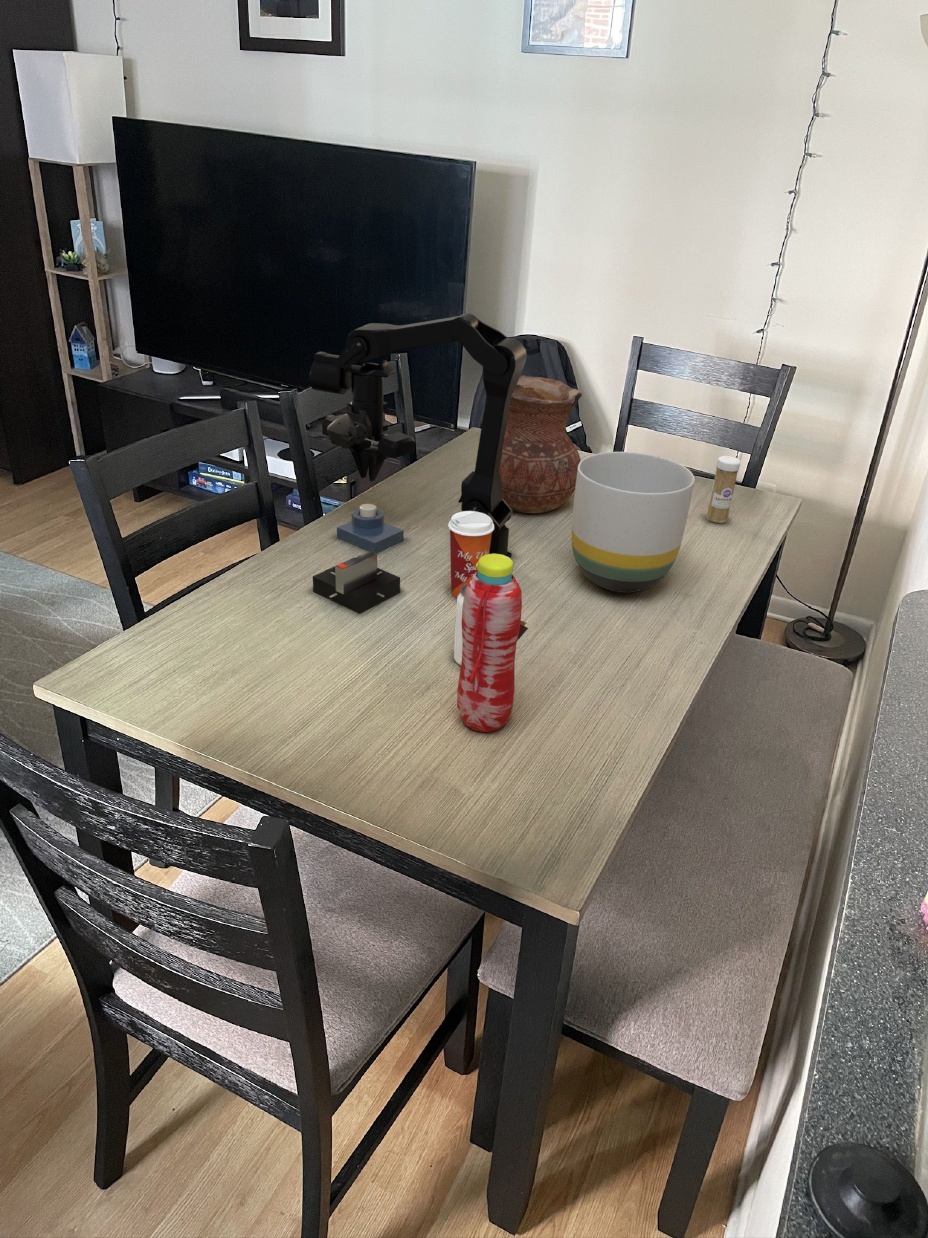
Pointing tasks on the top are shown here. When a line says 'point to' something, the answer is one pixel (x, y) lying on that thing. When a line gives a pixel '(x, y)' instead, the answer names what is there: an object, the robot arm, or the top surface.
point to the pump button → (367, 510)
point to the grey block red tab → (356, 572)
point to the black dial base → (358, 590)
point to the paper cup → (467, 545)
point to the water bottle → (489, 644)
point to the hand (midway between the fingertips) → (367, 479)
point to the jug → (539, 446)
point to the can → (459, 626)
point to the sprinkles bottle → (723, 489)
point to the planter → (629, 518)
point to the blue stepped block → (370, 532)
